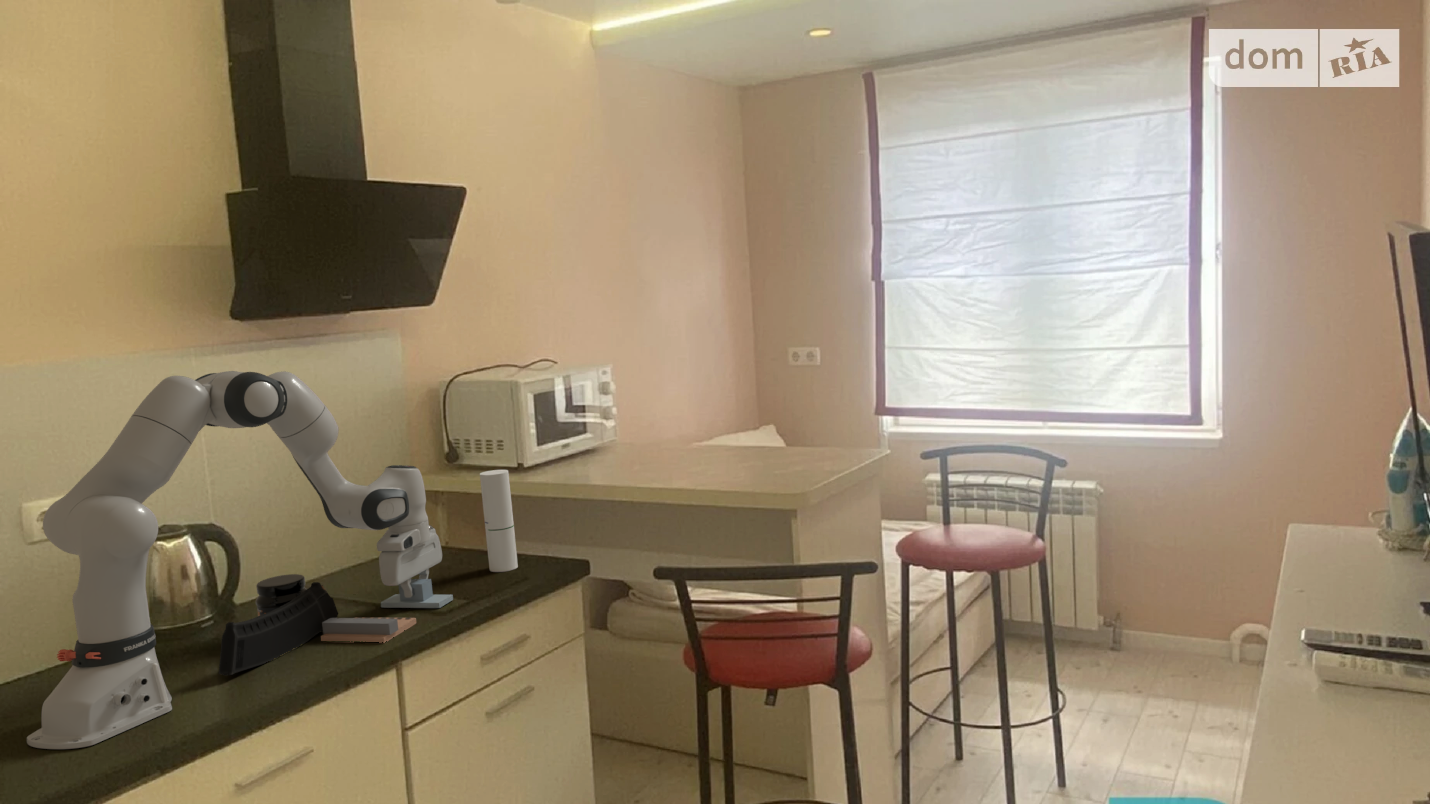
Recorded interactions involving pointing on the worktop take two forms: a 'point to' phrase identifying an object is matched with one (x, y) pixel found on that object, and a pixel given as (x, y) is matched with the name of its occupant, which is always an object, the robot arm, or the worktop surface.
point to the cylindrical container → (498, 520)
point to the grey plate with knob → (417, 597)
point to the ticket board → (371, 637)
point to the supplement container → (278, 591)
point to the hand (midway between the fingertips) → (416, 593)
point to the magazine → (275, 631)
